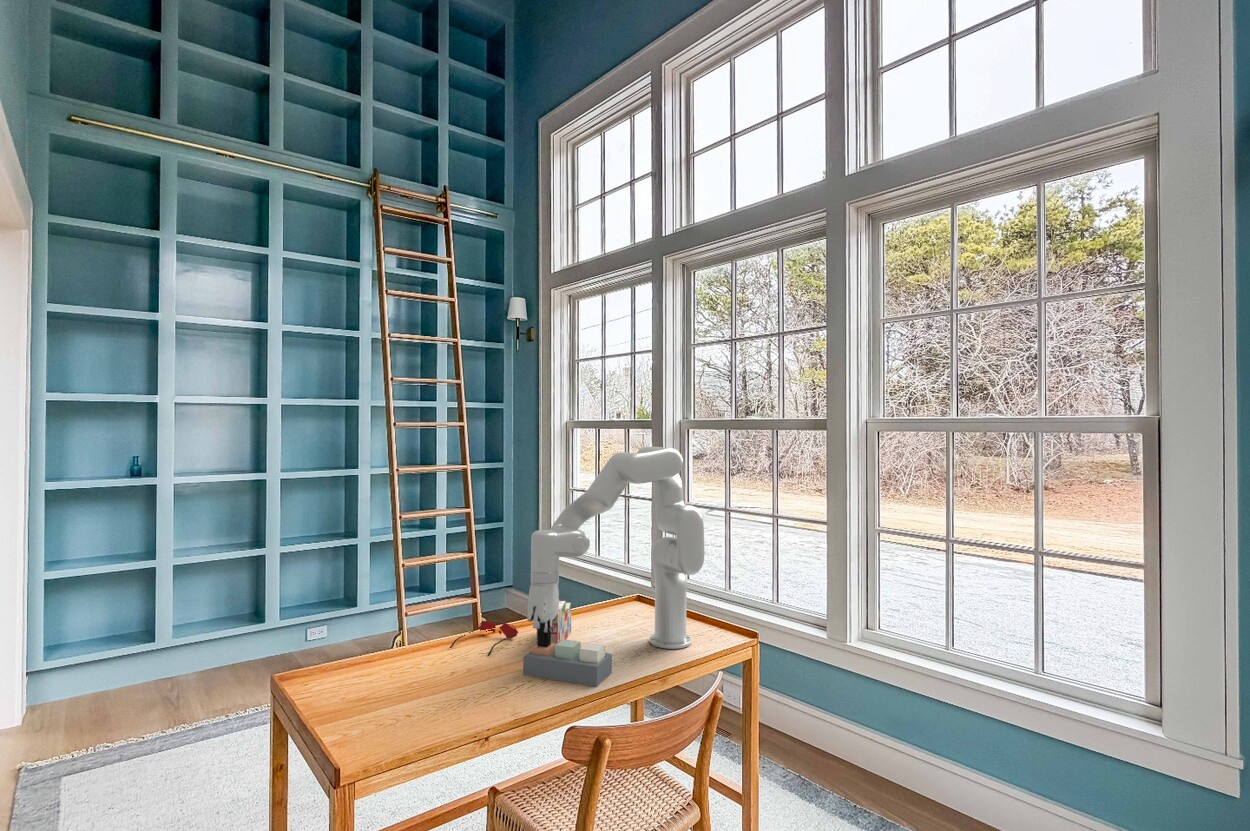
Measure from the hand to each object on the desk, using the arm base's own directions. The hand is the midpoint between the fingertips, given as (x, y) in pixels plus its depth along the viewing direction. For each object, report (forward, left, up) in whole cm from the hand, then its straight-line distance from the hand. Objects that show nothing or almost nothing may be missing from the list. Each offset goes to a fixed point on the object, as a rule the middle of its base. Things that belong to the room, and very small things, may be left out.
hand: (543, 645), depth 178 cm
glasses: (-12, -26, -7) cm, 29 cm away
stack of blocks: (-21, -7, -7) cm, 24 cm away
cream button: (0, +14, -4) cm, 15 cm away
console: (0, +7, -7) cm, 10 cm away
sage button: (0, +7, -4) cm, 8 cm away
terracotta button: (0, 0, -5) cm, 5 cm away
